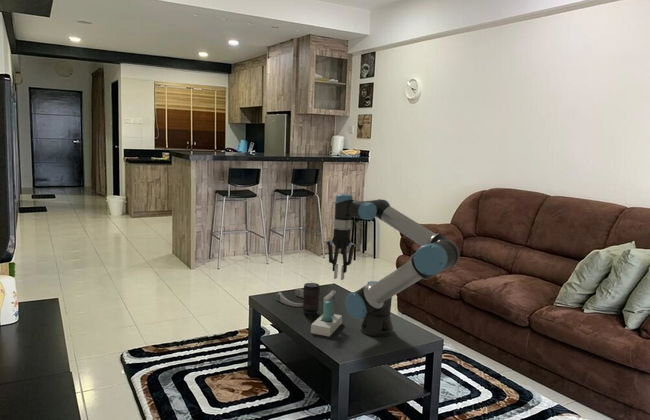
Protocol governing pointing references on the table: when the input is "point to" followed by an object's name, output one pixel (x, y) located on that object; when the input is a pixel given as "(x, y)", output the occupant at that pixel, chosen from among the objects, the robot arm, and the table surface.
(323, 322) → the grey block with rod
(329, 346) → the table surface
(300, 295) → the neck fan
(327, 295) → the grey square bar
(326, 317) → the plug
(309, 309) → the camera lens
